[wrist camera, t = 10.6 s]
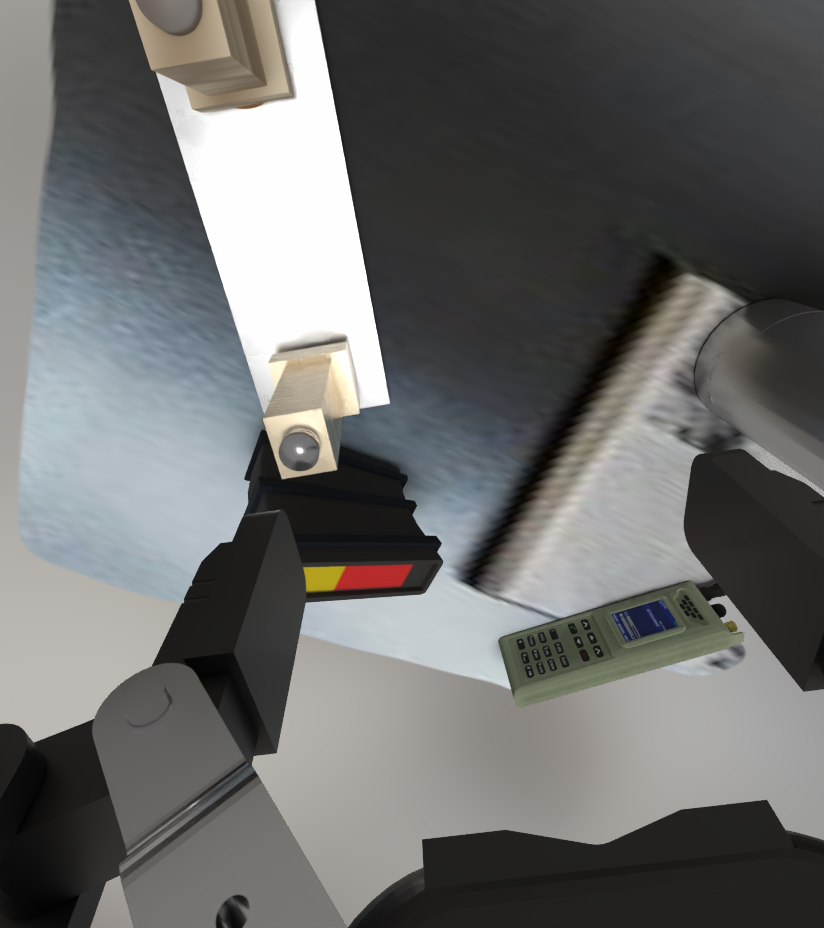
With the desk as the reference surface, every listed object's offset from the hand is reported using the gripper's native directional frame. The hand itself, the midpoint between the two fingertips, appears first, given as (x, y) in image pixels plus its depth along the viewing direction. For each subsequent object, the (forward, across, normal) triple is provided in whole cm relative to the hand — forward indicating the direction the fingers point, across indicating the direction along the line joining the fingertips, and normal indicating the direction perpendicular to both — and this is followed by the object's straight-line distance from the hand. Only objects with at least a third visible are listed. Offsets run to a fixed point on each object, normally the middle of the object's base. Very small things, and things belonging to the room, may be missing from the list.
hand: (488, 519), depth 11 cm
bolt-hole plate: (+28, +8, -6) cm, 30 cm away
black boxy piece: (+28, +8, +13) cm, 32 cm away
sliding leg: (+27, +8, -13) cm, 30 cm away
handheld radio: (+29, -16, +34) cm, 48 cm away
